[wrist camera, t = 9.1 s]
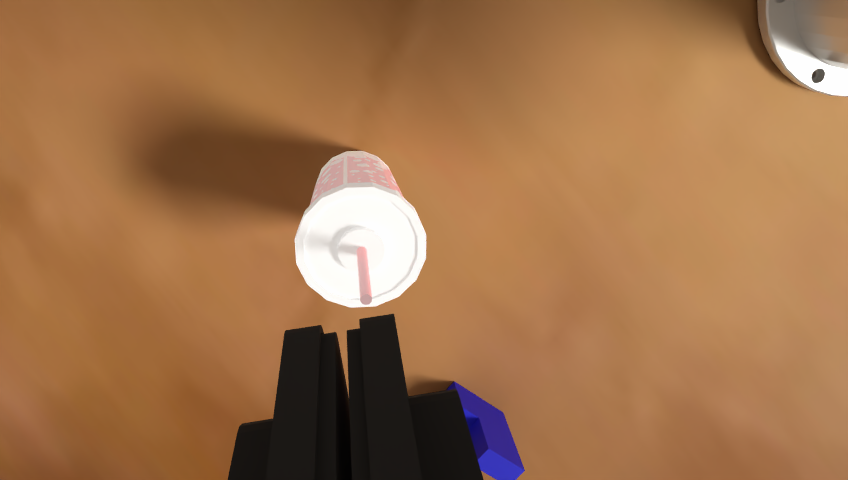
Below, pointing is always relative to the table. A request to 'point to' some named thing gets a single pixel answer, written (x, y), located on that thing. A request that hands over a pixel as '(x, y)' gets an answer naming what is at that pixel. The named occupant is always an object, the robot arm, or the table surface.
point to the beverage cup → (359, 234)
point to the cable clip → (490, 437)
